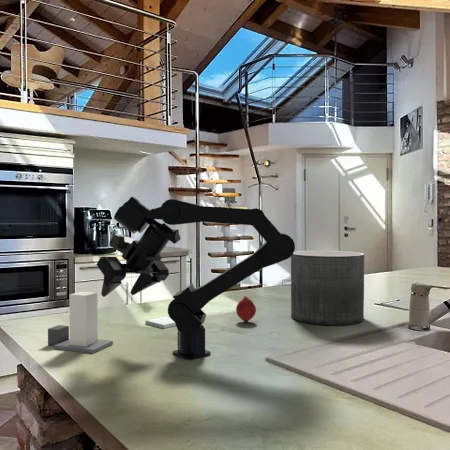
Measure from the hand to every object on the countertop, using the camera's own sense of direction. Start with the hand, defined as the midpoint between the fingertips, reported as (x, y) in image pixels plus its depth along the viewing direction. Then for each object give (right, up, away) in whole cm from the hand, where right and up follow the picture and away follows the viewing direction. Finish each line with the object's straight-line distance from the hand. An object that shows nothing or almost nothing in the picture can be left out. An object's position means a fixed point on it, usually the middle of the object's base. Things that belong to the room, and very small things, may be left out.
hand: (117, 294), depth 109 cm
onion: (+32, -12, +26) cm, 43 cm away
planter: (+57, -12, +31) cm, 67 cm away
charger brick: (-8, -12, +1) cm, 14 cm away
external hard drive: (+10, -13, +25) cm, 30 cm away
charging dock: (-10, -13, +1) cm, 16 cm away
